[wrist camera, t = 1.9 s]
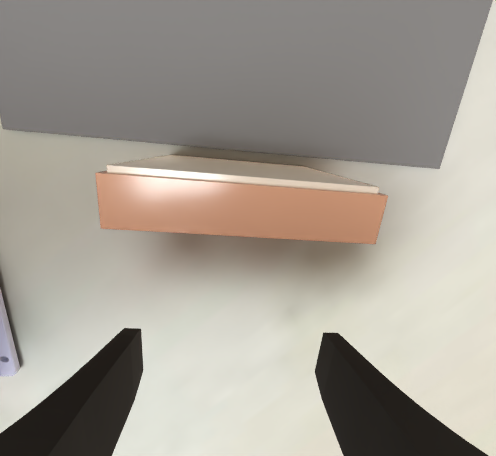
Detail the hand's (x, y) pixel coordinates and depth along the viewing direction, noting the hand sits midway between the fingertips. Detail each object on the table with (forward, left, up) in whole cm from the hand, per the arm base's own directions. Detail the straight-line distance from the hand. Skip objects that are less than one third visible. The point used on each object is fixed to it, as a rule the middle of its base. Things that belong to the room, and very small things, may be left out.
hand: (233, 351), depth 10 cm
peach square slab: (+6, 0, -7) cm, 9 cm away
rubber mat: (+13, 0, -7) cm, 15 cm away
